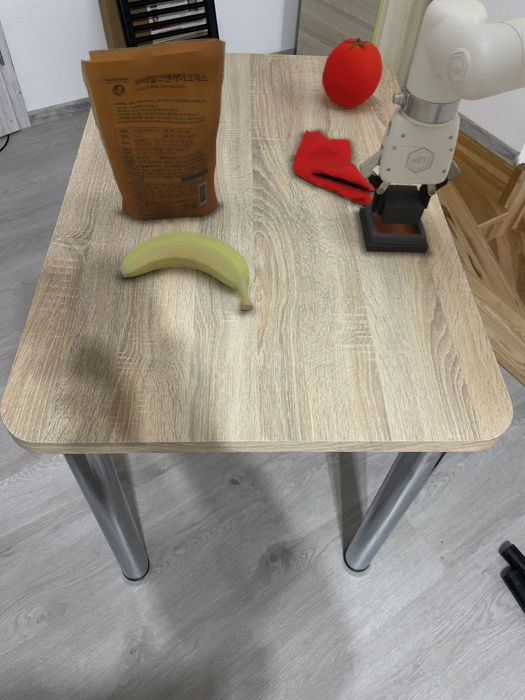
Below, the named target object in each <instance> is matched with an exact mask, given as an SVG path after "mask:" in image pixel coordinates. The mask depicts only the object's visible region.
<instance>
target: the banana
mask: <svg viewBox="0 0 525 700" xmlns="http://www.w3.org/2000/svg"><path fill="white" fill-rule="evenodd" d="M177 267H178V268H179V267H180V268H189V269H194V270H198V271H201V272H204V273H206V274H208V275H210V276H212V277H213V278H215V279H217V280H218V281H219V282H221V283H222V284H224V285H225V286H227V287H229V288H231V289H234V290H237V292H238V294H239V297H240V302H241V304H240V305H241V307H240V308H241V309H242V310H244V311H250V310H252V309H254V305H253V303H252V302H251V299H250V297H249V294H248V285H249V281H250V272H249V266H248V264H247V261H246V260H245V258H244V256H243V255H242V254H241V253H240V252H239V251H238V250H237V249H235V247H233V246H231V245H230V244H228V243H227V242H225V241H223V240H221V239H219V238H217V237H214V236H211V235H208V234H204V233H199V232H191V231H172V232H166V233H162V234H158V235H155V236H152V237H150V238H148V239H146V240H145V241H143V242H141V243H140V244H138V245H137V246H135V247H134V248H133V249H132V250H130V252H129V253H128V254H127V255H126V256H125V257H124V259H123V260H122V261H121V264H120V266H119V268H118V270H119V272H120V274H121V276H122V277H123V278H133V277H137V276H140V275H143V274H146V273H148V272H153V271H155V270H160V269H165V268H177Z"/></svg>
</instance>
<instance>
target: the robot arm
mask: <svg viewBox="0 0 525 700" xmlns="http://www.w3.org/2000/svg"><path fill="white" fill-rule="evenodd" d="M488 17H489V15H488V10H487V8H486V7H485V5H484V4H483V3H481V2H480V1H478V0H432V1H431V2H430V3H429V4H428V6H427V7H426V9H425V12H424V15H423V19H422V24H421V26H420V29H419V34H418V38H417V42H416V45H415V50H414V54H413V57H412V61H411V64H410V69H409V73H408V75H407V76H408V77H407V81H406V83H405V84H404V87H403V89H402V90H401V91H399V92H394V93H393V94H392V98H391V99H392V100H391V101H392V104H396V106H395V109H394V111H393V113H392V115H391V117H390V119H389V121H388V123H387V126H386V129H385V131H384V133H383V137H382V140H381V143H380V146H379V150H378V151H376V152H375V153H374V154H372V155H371V156H369V157H368V158H367V159H365V160H364V161H363V162H361V163H360V164H359V166H358V167H359V172H360V173H361V175H362V176H363V177H364V178H365V179H366V180H367V181H368V182H369V184H370V185H371V186H372V187H373V188H374V189H375V191H373V196H372V198H371V199H372V206H373V207H375V210H376V214H377V215H381V214H382V210H383V206H384V203H385V200H386V191H385V190H386V189H387V188H388V186H389V185H392V184H400V185H420V186H419V188H418V191H419V195H420V198H421V201H422V204H423V207H424V210H423V213H422V216H424V211H425V210H427V209H428V207H429V204H430V201H431V198H432V196H434V195H436V194H437V191H438V190H439V191H440V189H442V188H443V187H445V186H447V184H448V183H449V182H451V181H453V180H455V179H457V178H458V177H460V175H461V170H460V168H459V166H458V165H457V163H456V161H455V160H454V159H453V158H454V154H455V150H456V145H457V141H458V136H459V132H460V131H459V130H460V125H461V117H460V115H459V114H458V112H457V111H458V109H459V106H460V103H461V100H465V101H477V100H483V99H487V98H490V97H494V96H497V95H501V94H505V93H507V92H512V91H516V90H519V89H523V88H525V16H524V17H523V16H522V17H518V18H517V17H516V18H513V19H509V20H504V21H503V20H502V21H498V22H492V23H488V19H489V18H488ZM377 167H378V169H379V171H378V174H377V173H376V172H375V171H374V169H375V168H377Z"/></svg>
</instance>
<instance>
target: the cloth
mask: <svg viewBox="0 0 525 700" xmlns="http://www.w3.org/2000/svg"><path fill="white" fill-rule="evenodd" d="M351 158H352V150H351V145H350V141H349V139H342V138H332V139H330V138H329V137H328V136H324V134H323V133H322V132H321V131H320V130H316V131H310V130H307V129H306V130H305V132H304V134H303V137H302V139H301V141H300V143H299V145H298V147H297V150H296V153H295V156H294V159H293V162H292V168H293V172H294V174H296V175H297V176H299V177H300V178H302V179H304V180H306V181H307V182H309V183H312V184H314V185H316V186H318V187H320V188H323V189H325V190H328V191H330V192H332V193H335V194H338V195H340V196H342V197H344V198H346V199H349V200H351V201H354V202H356V203H359V204H361V205H364V206H365V204H366V202H368V203H372V199H373V198H372V196H371V195H370V193H369V192H374V191H375V188H374V187H373V186H372V185H371V184H370V183H369V181H368V180H367V179H366V178H365V177H364V176H363V174H362V173H361V172H360V169H358V168H357V166H356V165H355V164H354V163H352V162H351ZM367 189H368V190H367Z"/></svg>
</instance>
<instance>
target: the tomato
mask: <svg viewBox="0 0 525 700" xmlns="http://www.w3.org/2000/svg"><path fill="white" fill-rule="evenodd" d="M331 50H332V51H331V52H330V53H329V54H328V56H327V58H326V60H325V62H324V63H325V64H324V67H323V71H322V77H321V84H322V87H323V90H324V92H325V95H326V96H327V97H328V99H329V100H330V101H331V102H332V103H333V104H335V105H337V106H339V107H342V108H344V109H347V108H349V109H350V108H356V107H359V106H362V105H363V104H364V103H366V102H367V101H368V100H370V98H371V97H372V96H373V95H374V93H375V92H376V90H377V88H378V86H379V85H380V82H381V79H382V76H383V75H382V74H383V61H382V54H381V52H380V50H379V48H378V47H377V46H376V45H375V43H374V42H371V41H369V40H362V39H361V38H360V37H358V38H355V37H349V38H346V39H342V41H341V42H339V44H337V46H335V47H334V48H333V49H331Z"/></svg>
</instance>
